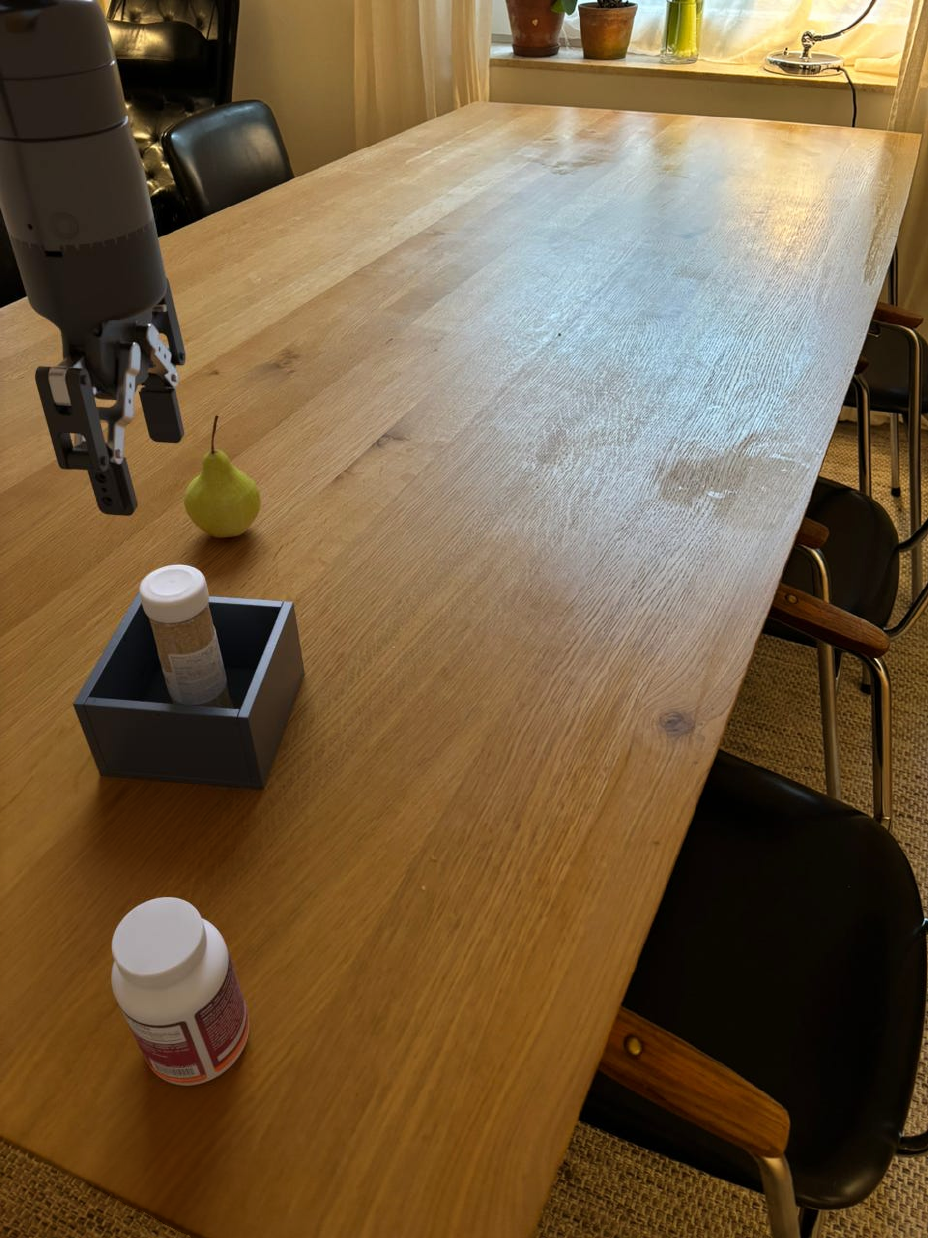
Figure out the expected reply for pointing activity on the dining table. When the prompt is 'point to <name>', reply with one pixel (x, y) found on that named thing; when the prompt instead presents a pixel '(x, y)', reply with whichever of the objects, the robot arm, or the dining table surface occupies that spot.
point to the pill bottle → (178, 991)
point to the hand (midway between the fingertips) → (145, 474)
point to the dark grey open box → (195, 735)
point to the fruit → (222, 496)
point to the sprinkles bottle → (185, 636)
